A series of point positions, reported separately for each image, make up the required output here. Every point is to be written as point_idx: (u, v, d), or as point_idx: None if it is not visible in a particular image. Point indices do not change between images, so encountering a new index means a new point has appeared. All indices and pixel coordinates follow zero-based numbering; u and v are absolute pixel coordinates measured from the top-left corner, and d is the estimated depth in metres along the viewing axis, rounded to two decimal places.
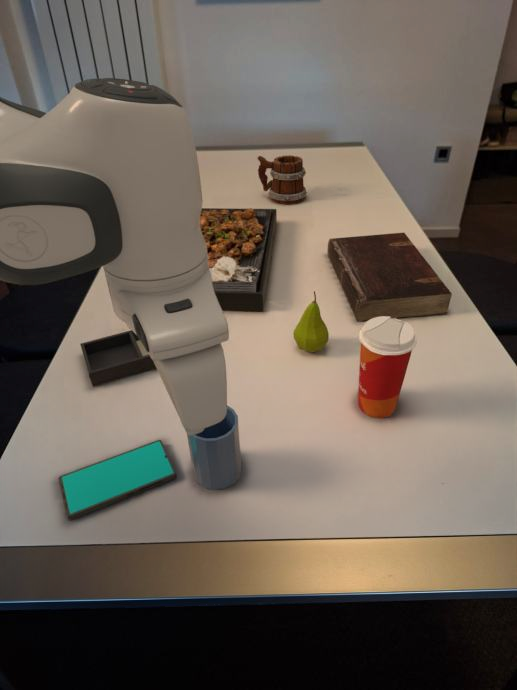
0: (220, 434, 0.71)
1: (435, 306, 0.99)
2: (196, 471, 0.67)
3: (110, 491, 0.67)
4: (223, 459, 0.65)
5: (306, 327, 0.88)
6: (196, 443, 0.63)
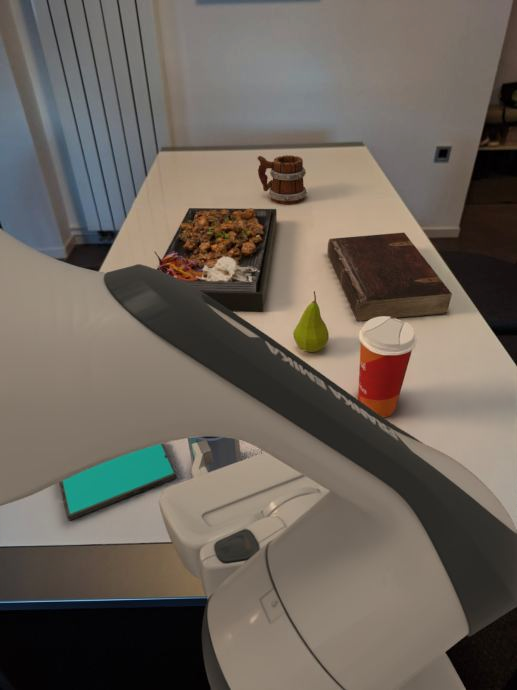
0: None
1: (435, 306, 0.99)
2: None
3: (110, 491, 0.67)
4: (223, 459, 0.65)
5: (306, 327, 0.88)
6: None
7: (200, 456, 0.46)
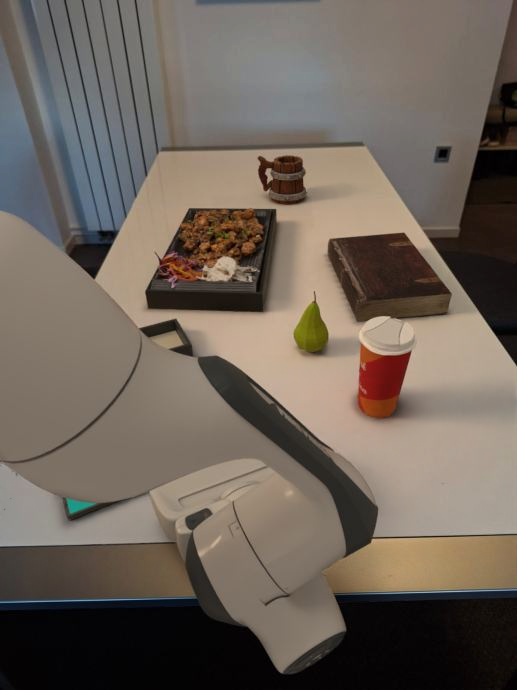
0: None
1: (435, 306, 0.99)
2: None
3: None
4: None
5: (306, 327, 0.88)
6: None
7: None
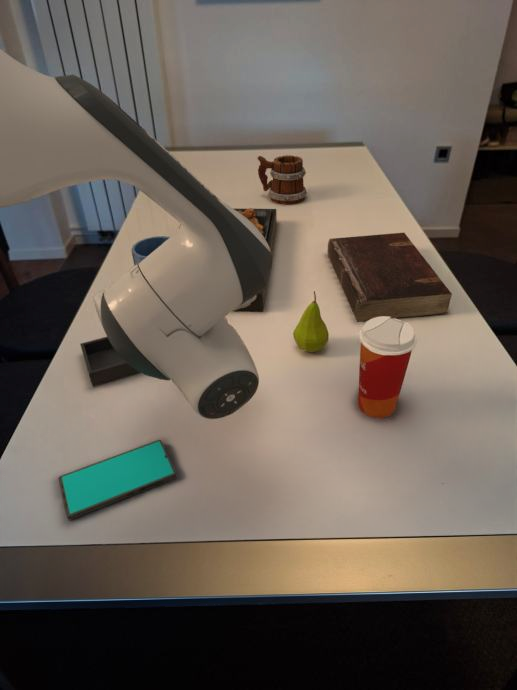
0: None
1: (435, 306, 0.99)
2: None
3: (110, 491, 0.67)
4: None
5: (306, 327, 0.88)
6: None
7: None
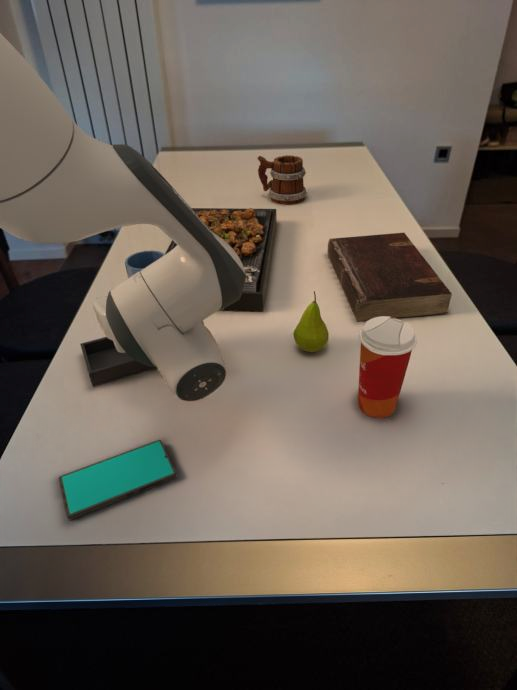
0: None
1: (435, 306, 0.99)
2: None
3: (110, 491, 0.67)
4: None
5: (306, 327, 0.88)
6: (132, 274, 0.80)
7: None
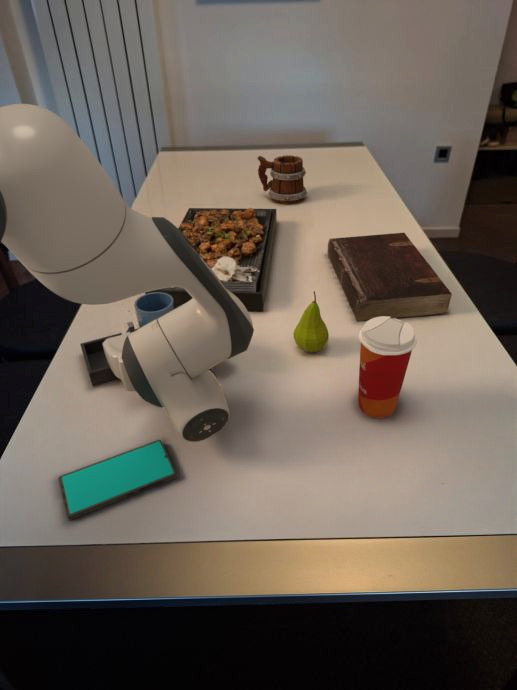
0: None
1: (435, 306, 0.99)
2: None
3: (110, 491, 0.67)
4: None
5: (306, 327, 0.88)
6: (141, 316, 0.85)
7: (127, 328, 0.87)
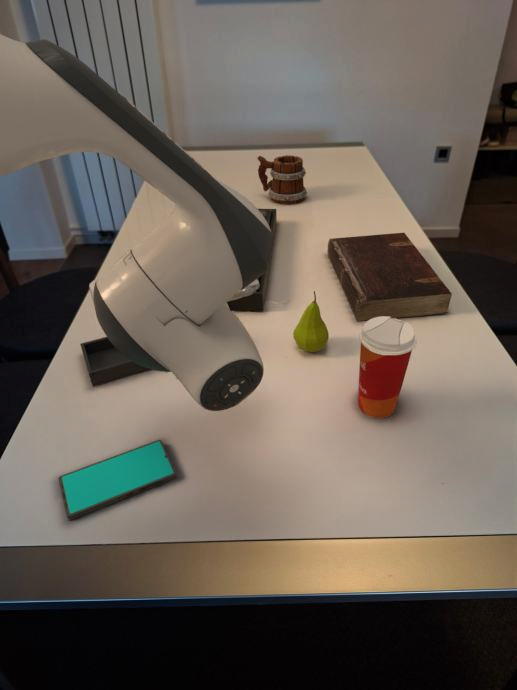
0: None
1: (435, 306, 0.99)
2: None
3: (110, 491, 0.67)
4: None
5: (306, 327, 0.88)
6: None
7: None
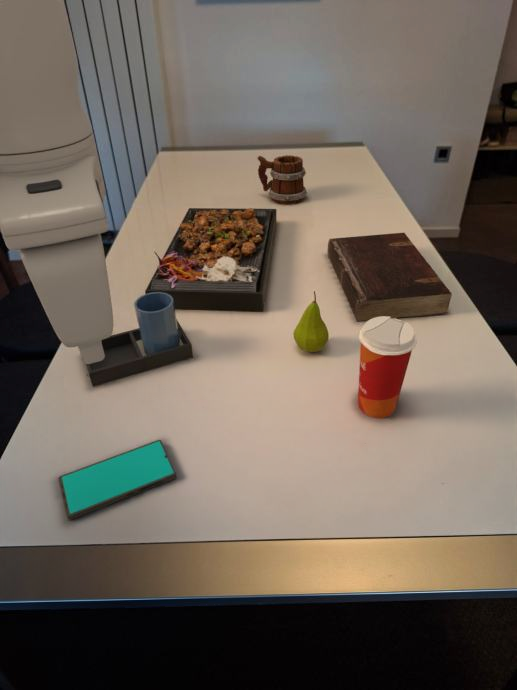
0: None
1: (435, 306, 0.99)
2: (144, 343, 0.90)
3: (110, 491, 0.67)
4: (162, 330, 0.87)
5: (306, 327, 0.88)
6: (141, 316, 0.85)
7: None
